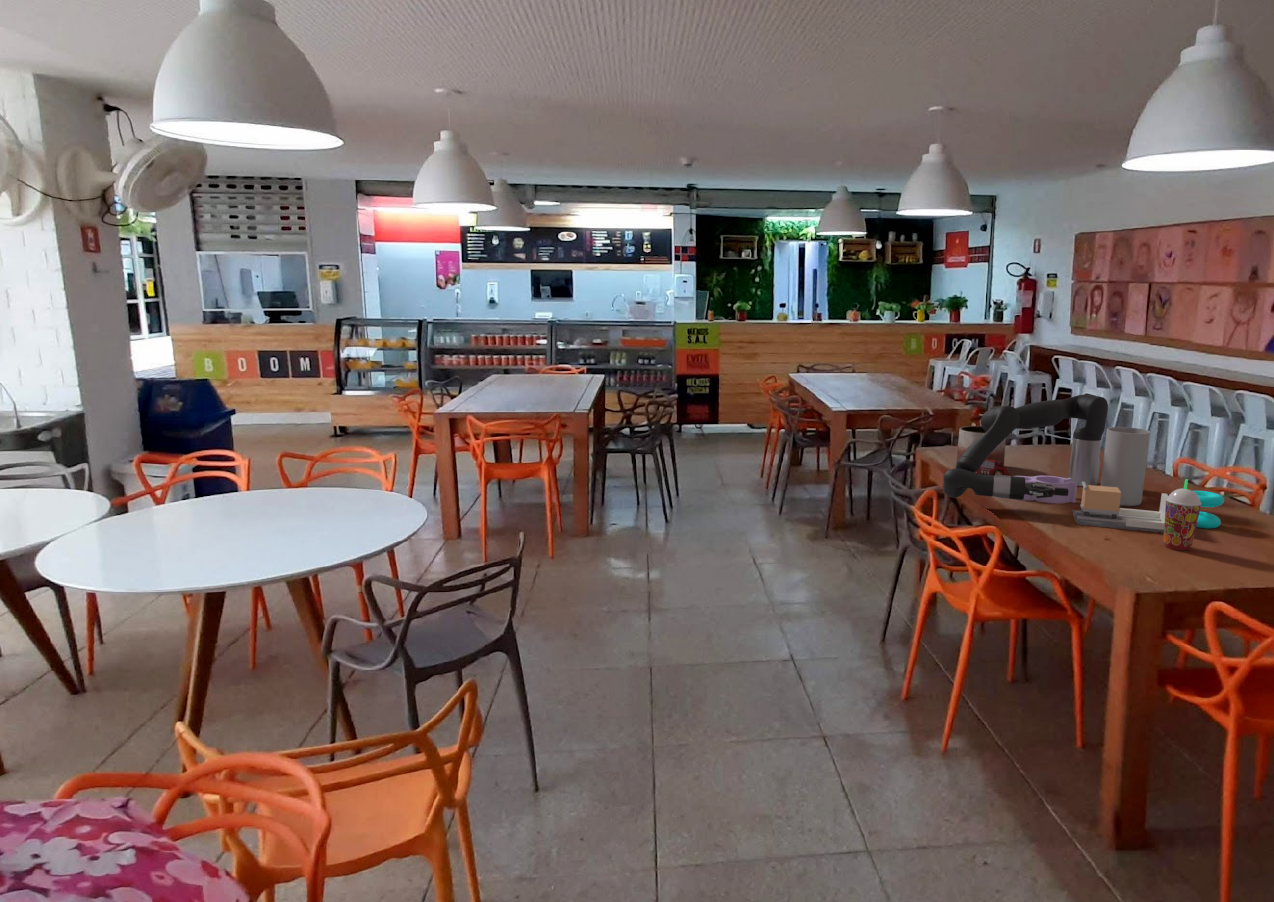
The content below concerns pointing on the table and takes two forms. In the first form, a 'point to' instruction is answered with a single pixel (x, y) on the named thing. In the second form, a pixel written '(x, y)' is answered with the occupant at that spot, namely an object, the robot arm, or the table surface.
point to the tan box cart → (1100, 500)
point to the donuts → (1208, 501)
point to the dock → (1127, 518)
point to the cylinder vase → (1126, 462)
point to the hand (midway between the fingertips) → (1068, 492)
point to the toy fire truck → (993, 468)
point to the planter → (971, 435)
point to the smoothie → (1181, 518)
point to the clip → (1055, 482)
